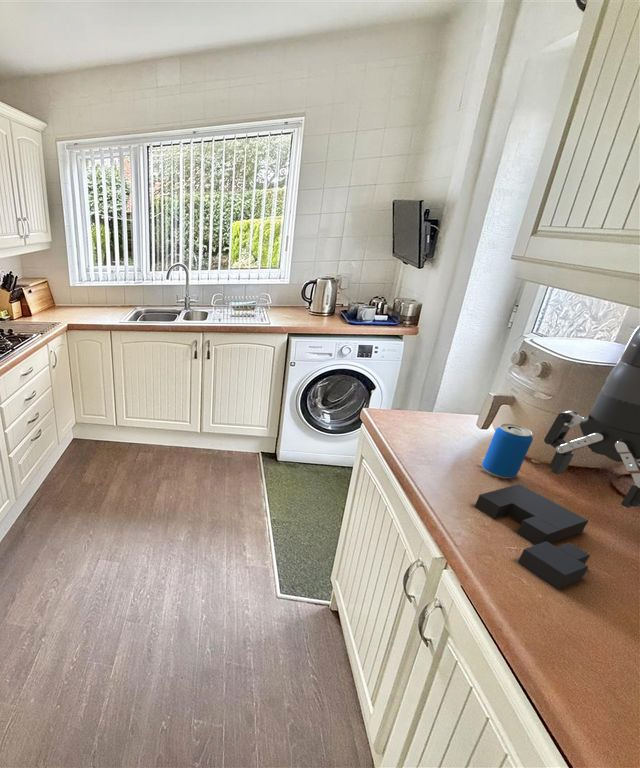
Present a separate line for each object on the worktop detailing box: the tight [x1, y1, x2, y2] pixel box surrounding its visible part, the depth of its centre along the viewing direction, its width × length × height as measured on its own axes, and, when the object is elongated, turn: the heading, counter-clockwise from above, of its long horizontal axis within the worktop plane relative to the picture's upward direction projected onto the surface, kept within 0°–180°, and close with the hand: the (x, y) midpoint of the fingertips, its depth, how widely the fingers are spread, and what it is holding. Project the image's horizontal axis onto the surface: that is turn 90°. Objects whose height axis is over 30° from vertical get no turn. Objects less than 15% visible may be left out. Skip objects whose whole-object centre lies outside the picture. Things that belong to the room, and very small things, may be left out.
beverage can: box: [481, 423, 534, 479], centre depth 95 cm, size 6×6×12 cm
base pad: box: [474, 483, 589, 545], centre depth 83 cm, size 12×12×3 cm
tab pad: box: [517, 541, 591, 590], centre depth 71 cm, size 9×6×3 cm, turn 107°
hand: (590, 487), depth 63 cm, fingers open, 8 cm apart
